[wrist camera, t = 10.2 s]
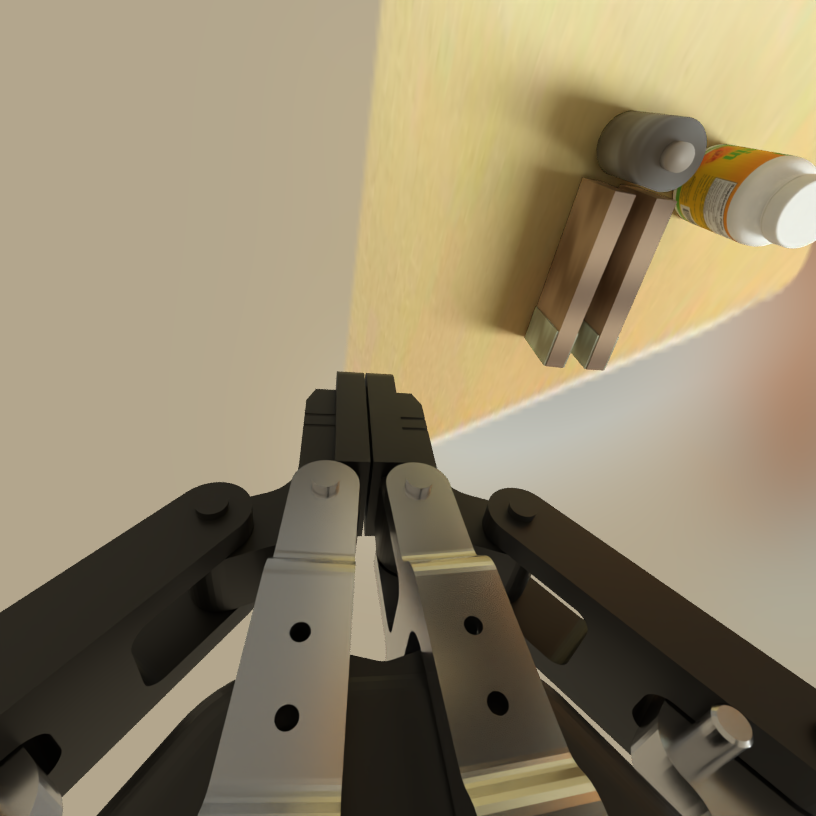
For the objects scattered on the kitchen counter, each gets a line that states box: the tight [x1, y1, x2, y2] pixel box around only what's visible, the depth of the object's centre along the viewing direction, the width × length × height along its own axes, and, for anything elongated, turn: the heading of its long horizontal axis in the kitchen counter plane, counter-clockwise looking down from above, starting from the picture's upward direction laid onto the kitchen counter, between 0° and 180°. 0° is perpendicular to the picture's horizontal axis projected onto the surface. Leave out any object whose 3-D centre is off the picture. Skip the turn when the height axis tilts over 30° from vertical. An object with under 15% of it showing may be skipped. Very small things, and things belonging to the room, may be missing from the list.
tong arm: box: [525, 178, 636, 368], centre depth 35 cm, size 13×2×5 cm, turn 170°
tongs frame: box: [571, 111, 707, 370], centre depth 34 cm, size 18×4×7 cm, turn 172°
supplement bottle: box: [673, 144, 816, 248], centre depth 31 cm, size 5×5×10 cm
